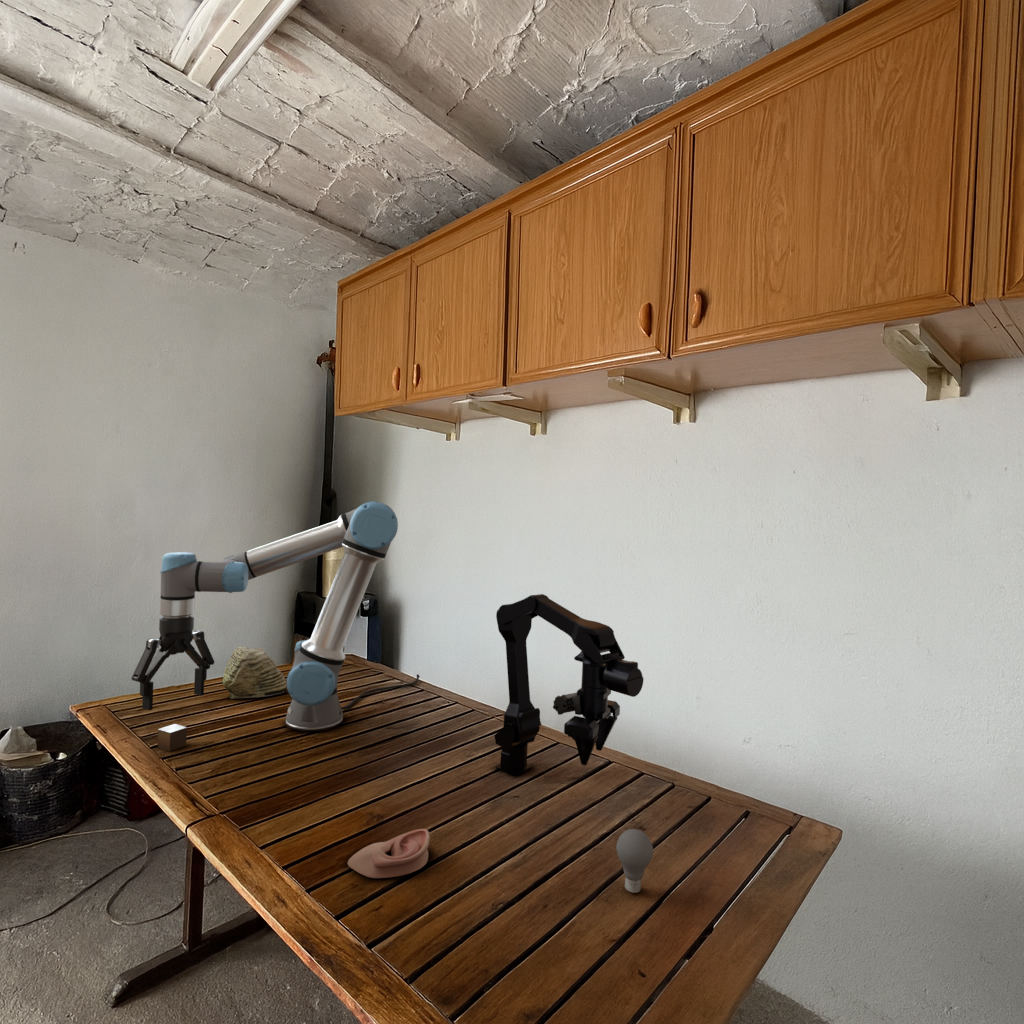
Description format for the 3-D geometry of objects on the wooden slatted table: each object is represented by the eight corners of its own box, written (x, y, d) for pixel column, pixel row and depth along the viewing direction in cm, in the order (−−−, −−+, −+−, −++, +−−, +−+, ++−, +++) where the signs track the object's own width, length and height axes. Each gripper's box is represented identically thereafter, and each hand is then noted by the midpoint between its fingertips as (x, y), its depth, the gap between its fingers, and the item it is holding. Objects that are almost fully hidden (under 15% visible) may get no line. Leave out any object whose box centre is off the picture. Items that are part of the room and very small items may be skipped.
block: (174, 741, 159) (175, 723, 159) (186, 745, 157) (187, 727, 157) (157, 747, 155) (158, 729, 155) (169, 751, 153) (170, 732, 153)
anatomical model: (339, 849, 107) (368, 816, 118) (339, 872, 107) (367, 837, 118) (414, 862, 104) (436, 827, 115) (413, 885, 104) (435, 848, 116)
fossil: (218, 695, 195) (220, 647, 195) (278, 685, 208) (279, 640, 207) (228, 703, 189) (230, 653, 188) (289, 692, 201) (290, 645, 201)
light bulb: (610, 879, 108) (613, 822, 108) (644, 879, 109) (647, 822, 109) (619, 902, 102) (622, 840, 102) (655, 901, 103) (658, 840, 103)
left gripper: (211, 607, 168) (208, 686, 169) (116, 621, 146) (113, 712, 147) (230, 610, 165) (227, 691, 165) (136, 625, 143) (133, 718, 143)
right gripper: (575, 669, 147) (572, 735, 147) (542, 688, 131) (539, 764, 131) (622, 677, 142) (618, 746, 142) (593, 698, 125) (589, 776, 126)
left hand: (174, 701), depth 156 cm, fingers open, 13 cm apart
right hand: (591, 757), depth 135 cm, fingers open, 9 cm apart
